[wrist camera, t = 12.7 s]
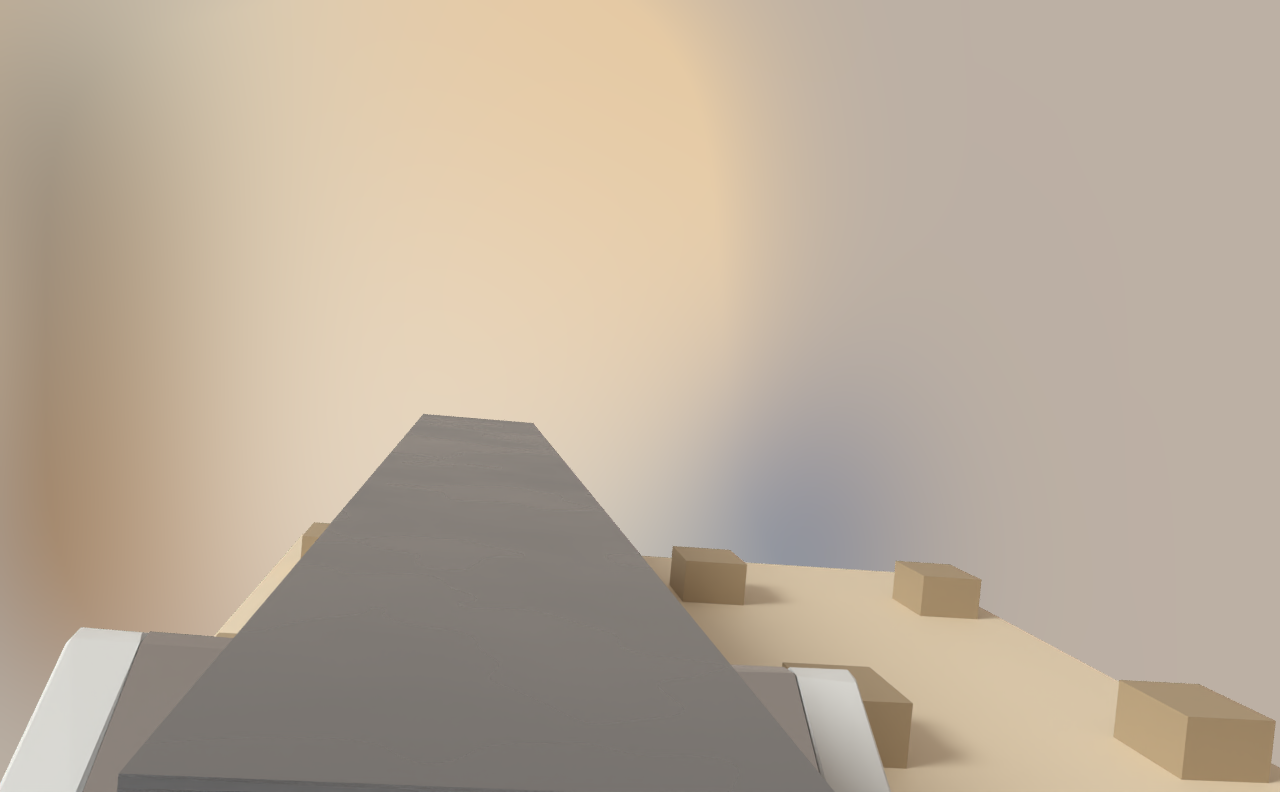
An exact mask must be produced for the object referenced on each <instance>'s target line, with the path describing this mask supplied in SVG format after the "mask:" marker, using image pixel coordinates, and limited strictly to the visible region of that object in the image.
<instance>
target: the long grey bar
mask: <svg viewBox="0 0 1280 792" xmlns="http://www.w3.org/2000/svg"><path fill="white" fill-rule="evenodd" d="M117 792H834V790H833V789H832V788H831V787H830V786H829V784H828V783H827V782H826V781H825V779H824V778H823V777H822V776H821V775H820V773H819V772H818V771H817V770H816V768H815V767H814V766H813V765H812V764H811V762H810V761H809V760H808V759H807V757H806V756H805V755H804V754H803V753H802V751H801V750H800V749H799V748H798V746H797V745H796V744H795V743H794V742H793V740H792V739H791V738H790V737H789V735H788V734H787V733H786V732H785V731H784V729H783V728H782V727H781V726H780V724H779V723H778V722H777V721H776V720H775V718H774V717H773V716H772V715H771V713H770V712H769V711H768V710H767V709H766V707H765V706H764V705H763V704H762V702H761V701H760V700H759V699H758V698H757V696H756V695H755V694H754V693H753V691H752V690H751V689H750V688H749V687H748V685H747V684H746V683H745V682H744V680H743V679H742V678H741V677H740V676H739V674H738V673H737V672H736V671H735V669H734V668H733V667H732V666H731V665H730V663H729V662H728V661H727V660H726V658H725V657H724V656H723V655H722V654H721V652H720V651H719V650H718V649H717V647H716V646H715V645H714V644H713V643H712V641H711V640H710V639H709V638H708V636H707V635H706V634H705V633H704V632H703V630H702V629H701V628H700V627H699V625H698V624H697V623H696V622H695V621H694V619H693V618H692V617H691V616H690V614H689V613H688V612H687V611H686V610H685V608H684V607H683V606H682V605H681V603H680V602H679V601H678V600H677V599H676V597H675V596H674V595H673V594H672V592H671V591H670V590H669V589H668V588H667V586H666V585H665V584H664V583H663V581H662V580H661V579H660V578H659V577H658V575H657V574H656V573H655V572H654V570H653V569H652V568H651V567H650V566H649V564H648V563H647V562H646V561H645V559H644V558H643V557H642V556H641V555H640V553H639V552H638V551H637V550H636V548H635V547H634V546H633V545H632V544H631V542H630V541H629V540H628V539H627V538H626V536H625V535H624V534H623V533H622V531H621V530H620V529H619V528H618V527H617V525H616V524H615V523H614V522H613V520H612V519H611V518H610V517H609V515H608V514H607V513H606V512H605V511H604V509H603V508H602V507H601V506H600V505H599V503H598V502H597V501H596V500H595V498H594V497H593V496H592V495H591V493H590V492H589V491H588V490H587V489H586V487H585V486H584V485H583V484H582V482H581V481H580V480H579V479H578V478H577V476H576V475H575V474H574V473H573V472H572V470H571V469H570V468H569V467H568V465H567V464H566V463H565V462H564V461H563V459H562V458H561V457H560V456H559V454H558V453H557V452H556V451H555V449H554V448H553V447H552V446H551V445H550V443H549V442H548V441H547V440H546V438H545V437H544V436H543V435H542V434H541V432H540V431H539V430H538V429H537V427H536V426H535V425H534V424H533V423H524V422H512V421H500V420H488V419H476V418H463V417H451V416H440V415H428V414H423V415H422V416H421V418H420V419H419V420H418V421H417V422H416V423H415V425H414V426H413V427H412V428H411V429H410V431H409V432H408V433H407V434H406V435H405V437H404V438H403V439H402V440H401V441H400V442H399V444H398V445H397V446H396V447H395V448H394V449H393V451H392V452H391V453H390V454H389V455H388V457H387V458H386V459H385V460H384V461H383V462H382V464H381V465H380V466H379V467H378V468H377V469H376V471H375V472H374V473H373V474H372V475H371V477H370V478H369V479H368V480H367V481H366V482H365V484H364V485H363V486H362V487H361V488H360V490H359V491H358V492H357V493H356V494H355V496H354V497H353V498H352V499H351V500H350V501H349V503H348V504H347V505H346V506H345V507H344V508H343V510H342V511H341V512H340V513H339V514H338V515H337V517H336V518H335V519H334V520H333V521H332V523H331V524H330V525H329V526H328V527H327V528H326V530H325V531H324V532H323V533H322V534H321V535H320V537H319V538H318V539H317V540H316V541H315V543H314V544H313V545H312V546H311V547H310V548H309V550H308V551H307V552H306V553H305V554H304V556H303V557H302V558H301V559H300V560H299V561H298V563H297V564H296V565H295V566H294V567H293V568H292V570H291V571H290V572H289V573H288V574H287V576H286V577H285V578H284V579H283V580H282V581H281V583H280V584H279V585H278V586H277V587H276V589H275V590H274V591H273V592H272V593H271V594H270V596H269V597H268V598H267V599H266V600H265V601H264V603H263V604H262V605H261V606H260V607H259V609H258V610H257V611H256V612H255V613H254V614H253V616H252V617H251V618H250V619H249V620H248V622H247V623H246V624H245V625H244V626H243V627H242V629H241V630H240V631H239V632H238V633H237V634H236V636H235V637H234V638H233V639H232V640H231V642H230V643H229V644H228V645H227V646H226V647H225V649H224V650H223V651H222V652H221V653H220V655H219V656H218V657H217V658H216V659H215V660H214V662H213V663H212V664H211V665H210V666H209V667H208V669H207V670H206V671H205V672H204V673H203V675H202V676H201V677H200V678H199V679H198V680H197V682H196V683H195V684H194V685H193V686H192V688H191V689H190V690H189V691H188V692H187V693H186V695H185V696H184V697H183V698H182V699H181V700H180V702H179V703H178V704H177V705H176V706H175V708H174V709H173V710H172V711H171V712H170V713H169V715H168V716H167V717H166V718H165V719H164V721H163V722H162V723H161V724H160V725H159V726H158V728H157V729H156V730H155V731H154V732H153V733H152V735H151V736H150V737H149V738H148V739H147V741H146V742H145V743H144V744H143V745H142V746H141V748H140V749H139V750H138V751H137V752H136V754H135V755H134V756H133V757H132V758H131V759H130V761H129V762H128V763H127V764H126V765H125V767H124V768H123V769H122V770H121V771H120V772H119V774H118V786H117Z"/></svg>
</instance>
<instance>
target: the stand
mask: <svg viewBox="0 0 1280 792" xmlns="http://www.w3.org/2000/svg"><path fill="white" fill-rule="evenodd" d="M329 525H330V524H327V523H313V524H312V526H311V527H310V528H309V529H308V530H307V531H306V533H305V534H303V535H302V536H301V537H300V538H299V539H298V540H297V542H296V543H295V544H294V545H293V546H292V547H291V548H290V549H289V551H288V552H287V553H286V554H285V555H284V556H283V558H282V559H281V560H280V561H279V562H278V563H277V564H276V566H275V567H274V568H273V569H272V570H271V571H270V572H269V574H268V575H267V576H266V577H265V578H264V579H263V580H262V582H261V583H260V584H259V585H258V586H257V587H256V589H255V590H254V591H253V592H252V593H251V594H250V595H249V597H248V598H247V599H246V600H245V601H244V602H243V604H242V605H241V606H240V607H239V608H238V609H237V610H236V611H235V613H234V614H233V615H232V616H231V617H230V618H229V620H228V621H227V622H226V623H225V624H224V626H223V627H222V628H221V629H220V630H219V631H218V632H217V633H216V634H215V636H214V637H226V638H234V637H235V636H236V634H237V633H238V632H239V631H240V630H241V629H242V627H243V626H244V625H245V624H246V623H247V622H248V620H249V619H250V618H251V617H252V616H253V614H254V613H255V612H256V611H257V610H258V609H259V607H260V606H261V605H262V604H263V603H264V601H265V600H266V599H267V598H268V597H269V596H270V594H271V593H272V592H273V591H274V590H275V589H276V587H277V586H278V585H279V584H280V583H281V581H282V580H283V579H284V578H285V577H286V576H287V574H288V573H289V572H290V571H291V570H292V568H293V567H294V566H295V565H296V564H297V563H298V561H299V560H300V559H301V558H302V557H303V556H304V554H305V553H306V552H307V551H308V550H309V548H310V547H311V546H312V545H313V544H314V543H315V541H316V540H317V539H318V538H319V537H320V535H321V534H322V533H323V532H324V531H325V530H326V528H327V527H328V526H329ZM642 557H643V558H644V559H645V561H646V562H647V563H648V564H649V566H650V567H651V568H652V569H653V570H654V572H655V573H656V574H657V575H658V577H659V578H660V579H661V580H662V581H663V583H664V584H665V585H666V586H667V588H668V589H669V590H670V591H671V592H672V594H673V595H674V596H675V597H676V599H677V600H678V601H679V602H680V603H681V605H682V606H683V607H684V608H685V610H686V611H687V612H688V613H689V614H690V616H691V617H692V618H693V619H694V621H695V622H696V623H697V624H698V625H699V627H700V628H701V629H702V630H703V632H704V633H705V634H706V635H707V636H708V638H709V639H710V640H711V641H712V643H713V644H714V645H715V646H716V647H717V649H718V650H719V651H720V652H721V654H722V655H723V656H724V657H725V658H726V660H727V661H728V662H729V663H730V665H749V666H772V667H784V668H786V669H788V668H790V667H797V668H820V669H843V670H848V671H849V672H850V673H851V674H852V675H853V676H854V678H855V679H856V681H857V684H858V688H859V691H860V694H861V697H862V700H863V704H864V707H865V710H866V713H867V716H868V719H869V723H870V726H871V729H872V732H873V735H874V739H875V742H876V745H877V748H878V751H879V755H880V758H881V761H882V764H883V767H884V770H885V774H886V777H887V780H888V783H889V786H890V790H891V792H1280V768H1279V767H1277V766H1275V765H1273V764H1271V758H1272V749H1273V740H1274V731H1275V720H1273V719H1270V718H1268V717H1266V716H1264V715H1262V714H1260V713H1258V712H1256V711H1254V710H1252V709H1250V708H1248V707H1246V706H1243V705H1241V704H1239V703H1237V702H1235V701H1233V700H1231V699H1229V698H1227V697H1225V696H1223V695H1220V694H1218V693H1216V692H1214V691H1212V690H1210V689H1208V688H1206V687H1204V686H1202V685H1200V684H1185V683H1166V682H1147V681H1127V680H1119V681H1117V680H1115V679H1113V678H1111V677H1109V676H1107V675H1105V674H1104V673H1102V672H1100V671H1098V670H1096V669H1094V668H1092V667H1091V666H1089V665H1086V664H1085V663H1083V662H1081V661H1079V660H1077V659H1076V658H1074V657H1072V656H1070V655H1068V654H1066V653H1064V652H1063V651H1060V650H1059V649H1057V648H1055V647H1053V646H1051V645H1049V644H1048V643H1046V642H1044V641H1042V640H1040V639H1038V638H1036V637H1034V636H1033V635H1031V634H1029V633H1027V632H1025V631H1023V630H1021V629H1020V628H1018V627H1016V626H1014V625H1012V624H1010V623H1008V622H1007V621H1005V620H1003V619H1001V618H999V617H997V616H995V615H993V614H992V613H990V612H988V611H986V610H984V609H982V608H980V607H979V598H980V588H981V579H979V578H977V577H975V576H972V575H970V574H968V573H966V572H964V571H962V570H960V569H958V568H956V567H954V566H952V565H949V564H934V563H919V562H903V561H896V565H895V572H882V571H867V570H850V569H835V568H821V567H805V566H790V565H773V564H758V563H745V562H743V561H742V560H741V559H740V558H739V557H738V556H736V555H735V554H734V553H733V552H731V551H730V550H721V549H706V548H692V547H677V546H673V551H672V558H666V557H650V556H642Z"/></svg>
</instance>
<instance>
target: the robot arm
mask: <svg viewBox="0 0 1280 792" xmlns="http://www.w3.org/2000/svg"><path fill="white" fill-rule="evenodd" d="M232 639H233V638H226V637H214V636H201V635H188V634H175V633H162V632H149V633H144V632H132V631H119V630H107V629H95V628H83V627H82V628H80V629H79V630H78V631H77V632H76V633H75V634H74V635H73V636H72V637H71V638H70V640H69V641H67V643H66V645H65V647H64V649H63V651H62V653H61V655H60V657H59V660H58V662H57V664H56V666H55V668H54V670H53V672H52V674H51V676H50V679H49V681H48V683H47V685H46V687H45V689H44V691H43V694H42V696H41V698H40V700H39V702H38V704H37V706H36V709H35V711H34V713H33V715H32V717H31V719H30V721H29V723H28V725H27V728H26V730H25V732H24V734H23V736H22V738H21V740H20V743H19V745H18V747H17V749H16V751H15V753H14V755H13V757H12V760H11V762H10V764H9V766H8V768H7V771H6V772H5V775H4V777H3V779H2V781H1V783H0V792H117V786H118V774H119V772H120V771H121V770H122V769H123V768H124V767H125V765H126V764H127V763H128V762H129V761H130V759H131V758H132V757H133V756H134V755H135V754H136V752H137V751H138V750H139V749H140V748H141V746H142V745H143V744H144V743H145V742H146V741H147V739H148V738H149V737H150V736H151V735H152V733H153V732H154V731H155V730H156V729H157V728H158V726H159V725H160V724H161V723H162V722H163V721H164V719H165V718H166V717H167V716H168V715H169V713H170V712H171V711H172V710H173V709H174V708H175V706H176V705H177V704H178V703H179V702H180V700H181V699H182V698H183V697H184V696H185V695H186V693H187V692H188V691H189V690H190V689H191V688H192V686H193V685H194V684H195V683H196V682H197V680H198V679H199V678H200V677H201V676H202V675H203V673H204V672H205V671H206V670H207V669H208V667H209V666H210V665H211V664H212V663H213V662H214V660H215V659H216V658H217V657H218V656H219V655H220V653H221V652H222V651H223V650H224V649H225V647H226V646H227V645H228V644H229V643H230V642H231V640H232ZM731 666H732V667H733V668H734V669H735V671H736V672H737V673H738V674H739V676H740V677H741V678H742V679H743V680H744V682H745V683H746V684H747V685H748V687H749V688H750V689H751V690H752V691H753V693H754V694H755V695H756V696H757V698H758V699H759V700H760V701H761V702H762V704H763V705H764V706H765V707H766V709H767V710H768V711H769V712H770V713H771V715H772V716H773V717H774V718H775V720H776V721H777V722H778V723H779V724H780V726H781V727H782V728H783V729H784V731H785V732H786V733H787V734H788V735H789V737H790V738H791V739H792V740H793V742H794V743H795V744H796V745H797V746H798V748H799V749H800V750H801V751H802V753H803V754H804V755H805V756H806V757H807V759H808V760H809V761H810V762H811V764H812V765H813V766H814V767H815V768H816V770H817V771H818V772H819V773H820V775H821V776H822V777H823V778H824V779H825V781H826V782H827V783H828V784H829V786H830V787H831V788H832V789H833V790H834V792H891V790H890V786H889V783H888V780H887V777H886V774H885V770H884V767H883V764H882V761H881V758H880V755H879V751H878V748H877V745H876V742H875V739H874V735H873V732H872V729H871V726H870V723H869V719H868V716H867V713H866V710H865V707H864V704H863V700H862V697H861V694H860V691H859V688H858V684H857V681H856V679H855V678H854V676H853V675H852V674H851V673H850V672H849V671H848V670H843V669H820V668H797V667H790V668H788V669H786V668H784V667H772V666H749V665H731Z"/></svg>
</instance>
